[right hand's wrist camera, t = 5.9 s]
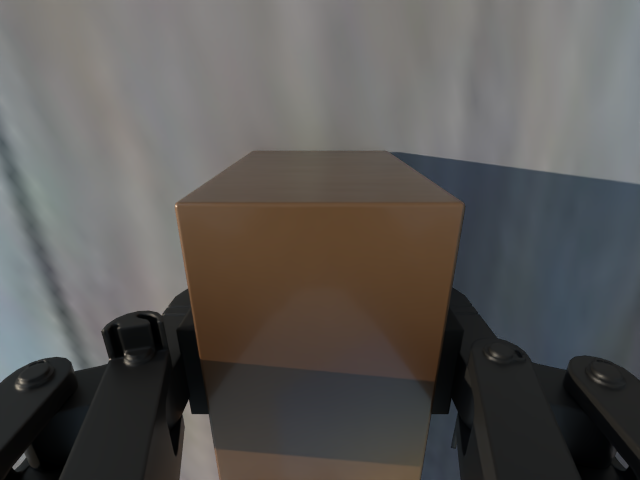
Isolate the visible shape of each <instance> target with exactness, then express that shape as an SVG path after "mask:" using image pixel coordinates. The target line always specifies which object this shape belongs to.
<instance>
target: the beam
mask: <svg viewBox="0 0 640 480" xmlns="http://www.w3.org/2000/svg"><path fill="white" fill-rule="evenodd" d="M175 211H176V217H177V223H178V229H179V235H180V241H181V247H182V254H183V260H184V266H185V272H186V278H187V284H188V290H189V296H190V302H191V308H192V315H193V321H194V327H195V333H196V339H197V345H198V351H199V357H200V363H201V369H202V376H203V382H204V388H205V394H206V400H207V406H208V412H209V418H210V424H211V430H212V437H213V443H214V449H215V455H216V461H217V467H218V473H219V479H220V480H421V474H422V468H423V462H424V456H425V450H426V443H427V437H428V431H429V425H430V419H431V413H432V407H433V401H434V395H435V389H436V382H437V376H438V370H439V364H440V358H441V352H442V346H443V340H444V334H445V328H446V321H447V315H448V309H449V303H450V297H451V291H452V285H453V279H454V273H455V267H456V260H457V254H458V248H459V242H460V236H461V230H462V224H463V218H464V212H465V204H464V203H463V202H462V201H461V200H459V199H458V198H456V197H455V196H453V195H452V194H450V193H449V192H447V191H446V190H444V189H443V188H441V187H440V186H438V185H437V184H435V183H434V182H432V181H431V180H429V179H428V178H426V177H425V176H424V175H422V174H421V173H419V172H418V171H416V170H415V169H413V168H412V167H410V166H409V165H407V164H406V163H404V162H403V161H401V160H400V159H398V158H397V157H395V156H394V155H392V154H391V153H389V152H388V151H252V152H251V153H249V154H248V155H246V156H245V157H243V158H242V159H240V160H239V161H237V162H236V163H234V164H233V165H231V166H230V167H228V168H227V169H226V170H224V171H223V172H221V173H220V174H218V175H217V176H215V177H214V178H212V179H211V180H209V181H208V182H206V183H205V184H203V185H202V186H200V187H199V188H197V189H196V190H194V191H193V192H191V193H190V194H188V195H187V196H186V197H184V198H183V199H181V200H180V201H178V202H177V203H176V204H175Z"/></svg>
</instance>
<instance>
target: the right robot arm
mask: <svg viewBox="0 0 640 480" xmlns="http://www.w3.org/2000/svg"><path fill="white" fill-rule="evenodd" d="M101 332H102V336H103V339H104V343H105V346H106V349H107V353H108V356H109V362H108V364H105V365H102V366H98V367H93V368H88V369H83V370H79V371H74V369H73V366H72V363H71V362H70V361H69V360H68V359H66V358H61V357H52V358H45V359H41V360H38V361H34V362H32V363H29V364H28V365H26V366H24V367H22V368H20V369H18V370H16V371H15V372H13V373H12V374H11V375H9V376H8V377H7V378H5V379H4V380H3V381H2V382H1V383H0V480H179V478H180V468H181V458H182V448H183V439H184V429H185V426H184V420H183V415H182V413H183V411H184V409H185V406H186V404H187V402H188V400H189V402H190V407H191V412H192V414H209V412H208V406H207V400H206V394H205V388H204V382H203V376H202V369H201V363H200V357H199V351H198V345H197V339H196V333H195V327H194V321H193V315H192V308H191V302H190V296H189V290H188V289H186V290H185V291H183V292H182V293H180V294H179V295H177V296H176V297H175V298H174V299H173V301H172V302H171V303H170V305H169V307H168V308H167V309H166V310H165V311H164V313H163V316H161V315H160V314H159V313H158V312H153V311H137V312H133V313H129V314H126V315H123V316H121V317H118V318H116V319H114V320H113V321H111V322H110V323H108V324H107V325H106V326H105V327H104V329H103V330H102V331H101ZM451 398H452V400H453V402H454V404H455V406H456V409H457V411H458V415H457V420H456V425H455V429H454V434H453V439H452V445H451V448H455V449H456V445H457V447H458V457H459V467H460V477H461V480H640V380H638V379H637V378H636V377H635V376H634V375H632V374H631V373H630V372H628V371H627V370H625V369H624V368H622V367H620V366H618V365H616V364H614V363H612V362H610V361H608V360H605V359H601V358H597V357H591V356H577V357H574V358H573V359H571V360H570V361H569V364H568V367H567V370H564V369H559V368H554V367H549V366H545V365H540V364H536V363H533V362H531V359H530V358H529V357H528V355H527V354H526V352H524V351H523V350H522V349H520V348H519V347H518V346H516V345H514V344H512V343H510V342H508V341H506V340H502V339H498V338H497V337H496V336H495V334H494V333H493V332H492V331H491V329H490V328H489V327H488V325H487V324H486V323H485V321H484V320H483V319H482V317H481V316H480V315H479V314H478V312H477V311H476V310H475V308H474V307H472V304H471V303H470V302H469V300H468V299H467V298H466V296H465V295H463V294H462V293H460V292H459V291H457V290H456V289H454V288H452V291H451V297H450V303H449V309H448V315H447V321H446V328H445V334H444V340H443V346H442V352H441V358H440V364H439V370H438V376H437V382H436V389H435V395H434V401H433V407H432V413H431V414H449V408H450V403H451ZM616 452H618V453H619V454H620V455H621V456H622V458H623V459H624V460H625V461H626V462H627V464H628V465H629V467H628V468H627V469H626V468H624V467H623V466H622V465H621V464H620V462H619V461H618V460H617V459H616V457H615V454H616ZM23 453H25V456H26V458H25V460H24V461H23V462H22V463H21V465H20V466H19V467H17V468H16V469H15V470H14V469H13V468H12V467H13V465H14V464H15V463H16V462H17V460H18V459H19V458H20V457H21V456H22V454H23Z"/></svg>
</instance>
